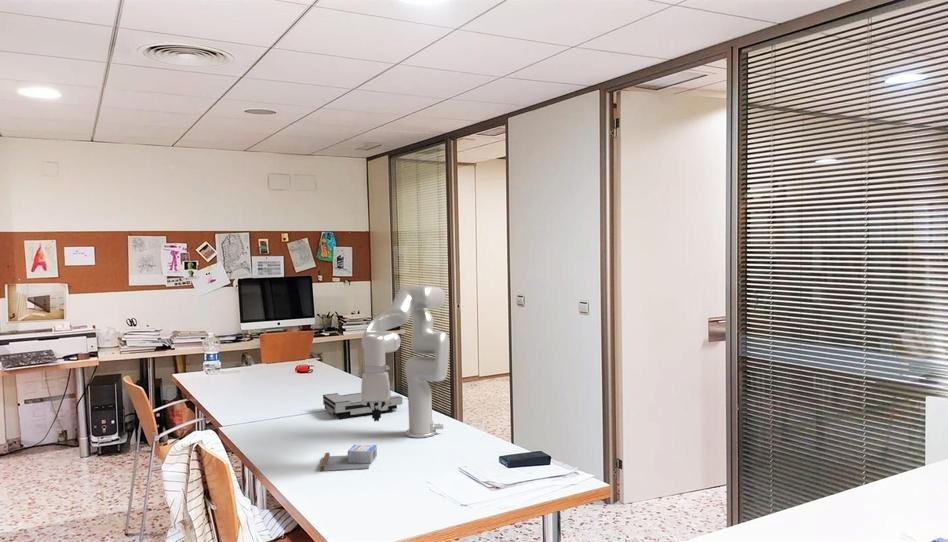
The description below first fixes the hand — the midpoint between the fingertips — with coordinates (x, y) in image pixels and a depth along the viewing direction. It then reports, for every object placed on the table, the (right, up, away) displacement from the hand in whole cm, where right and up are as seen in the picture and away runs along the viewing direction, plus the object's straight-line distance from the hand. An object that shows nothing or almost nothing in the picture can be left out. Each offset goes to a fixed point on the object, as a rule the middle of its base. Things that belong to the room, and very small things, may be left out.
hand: (376, 420), depth 242 cm
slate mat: (-10, -15, -1) cm, 18 cm away
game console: (-18, -13, +78) cm, 81 cm away
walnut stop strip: (-18, -15, -2) cm, 24 cm away
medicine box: (-1, -12, +1) cm, 12 cm away
